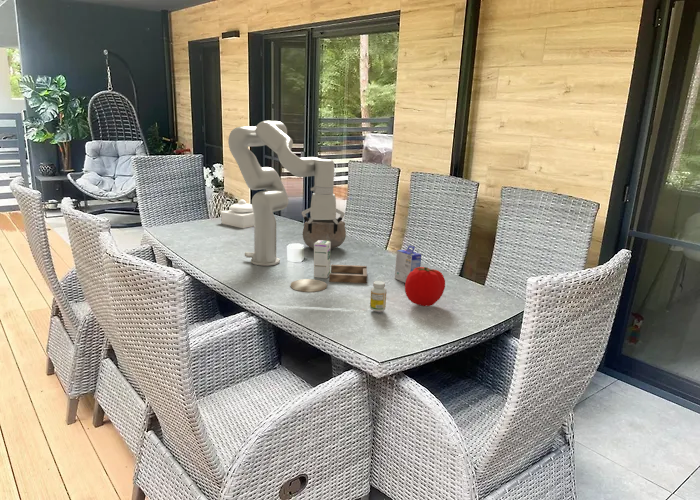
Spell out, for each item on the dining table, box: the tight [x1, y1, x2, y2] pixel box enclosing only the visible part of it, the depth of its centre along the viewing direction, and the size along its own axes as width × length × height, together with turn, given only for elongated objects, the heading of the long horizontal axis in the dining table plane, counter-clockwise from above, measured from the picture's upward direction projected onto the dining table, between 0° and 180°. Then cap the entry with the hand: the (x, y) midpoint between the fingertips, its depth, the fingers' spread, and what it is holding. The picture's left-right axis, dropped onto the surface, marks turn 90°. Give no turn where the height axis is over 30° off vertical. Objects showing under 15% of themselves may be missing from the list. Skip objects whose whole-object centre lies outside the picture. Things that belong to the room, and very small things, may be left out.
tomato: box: [404, 266, 446, 307], centre depth 190 cm, size 16×14×14 cm
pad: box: [290, 278, 328, 293], centre depth 205 cm, size 14×14×1 cm
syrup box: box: [313, 240, 332, 279], centre depth 217 cm, size 6×6×14 cm
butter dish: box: [220, 198, 254, 229], centre depth 306 cm, size 18×18×16 cm
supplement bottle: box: [369, 280, 387, 312], centre depth 183 cm, size 5×5×10 cm
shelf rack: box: [328, 264, 368, 284], centre depth 219 cm, size 15×14×3 cm
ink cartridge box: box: [394, 244, 422, 284], centre depth 215 cm, size 10×6×14 cm, turn 34°
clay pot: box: [302, 220, 347, 250], centre depth 260 cm, size 21×21×15 cm
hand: (322, 233), depth 215 cm, fingers open, 9 cm apart
